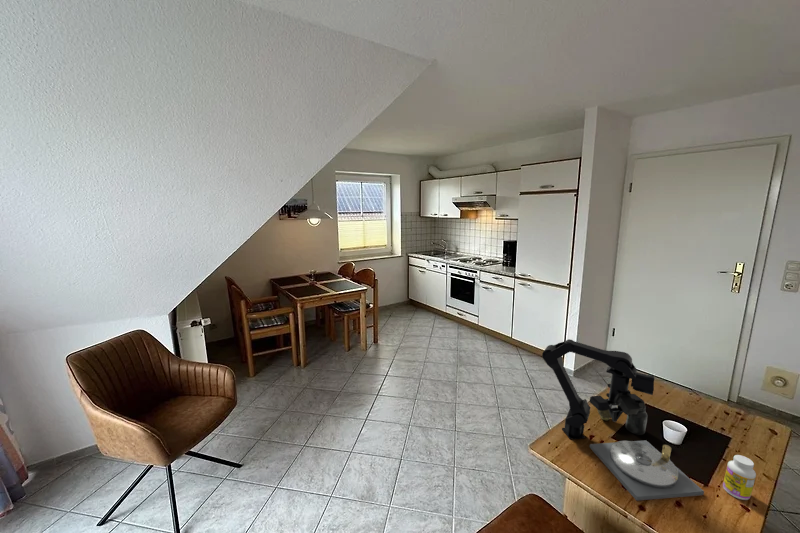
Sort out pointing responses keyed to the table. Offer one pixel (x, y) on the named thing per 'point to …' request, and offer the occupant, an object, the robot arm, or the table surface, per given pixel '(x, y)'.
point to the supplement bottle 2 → (739, 477)
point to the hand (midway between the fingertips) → (614, 421)
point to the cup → (604, 415)
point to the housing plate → (641, 490)
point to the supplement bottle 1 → (637, 422)
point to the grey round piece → (645, 463)
